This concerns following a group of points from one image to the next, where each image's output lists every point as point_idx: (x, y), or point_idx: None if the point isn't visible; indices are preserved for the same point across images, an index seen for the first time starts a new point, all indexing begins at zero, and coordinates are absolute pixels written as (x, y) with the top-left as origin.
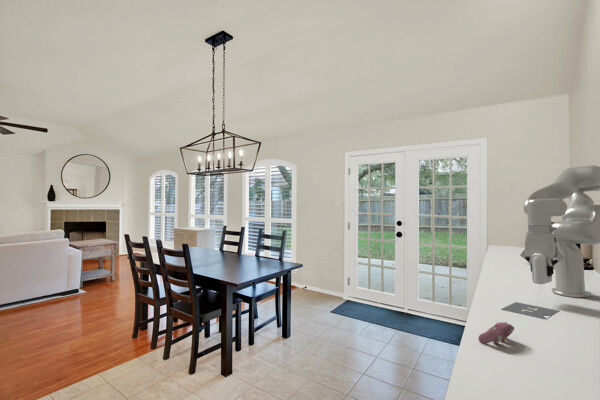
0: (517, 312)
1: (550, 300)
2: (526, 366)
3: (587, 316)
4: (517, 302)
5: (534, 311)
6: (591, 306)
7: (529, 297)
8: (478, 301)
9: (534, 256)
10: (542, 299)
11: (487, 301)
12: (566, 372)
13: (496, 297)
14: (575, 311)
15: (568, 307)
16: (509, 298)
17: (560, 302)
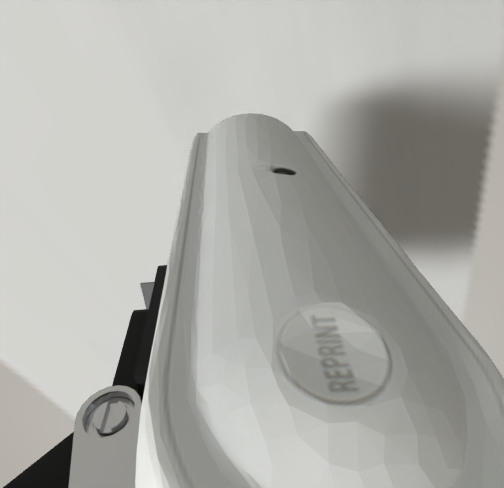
0: None
1: (249, 72)
2: None
3: (448, 260)
4: (151, 285)
5: None
6: (493, 17)
7: (116, 104)
8: (39, 385)
9: None
10: (201, 89)
11: (58, 361)
12: None
13: (14, 273)
14: (404, 222)
15: (370, 170)
16: (67, 237)
17: (314, 76)
